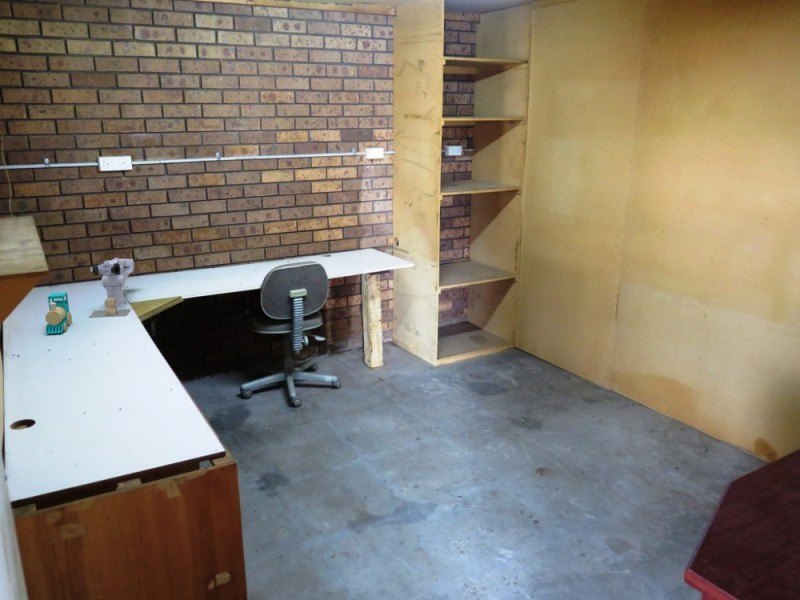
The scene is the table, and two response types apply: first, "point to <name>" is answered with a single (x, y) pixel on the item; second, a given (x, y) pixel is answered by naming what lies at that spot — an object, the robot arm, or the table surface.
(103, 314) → the slate mat
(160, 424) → the table surface
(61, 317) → the toy train
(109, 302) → the maple block
